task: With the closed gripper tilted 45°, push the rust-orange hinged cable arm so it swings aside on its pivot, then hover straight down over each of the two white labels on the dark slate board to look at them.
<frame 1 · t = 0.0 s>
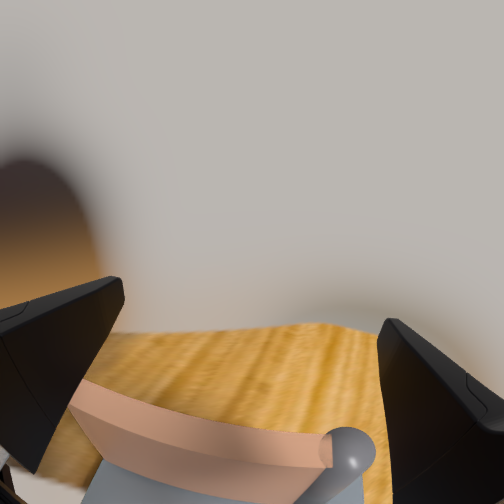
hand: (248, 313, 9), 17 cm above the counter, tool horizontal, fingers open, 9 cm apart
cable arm: (212, 466, 12), point 6 cm above the counter, hinge at 0.0°
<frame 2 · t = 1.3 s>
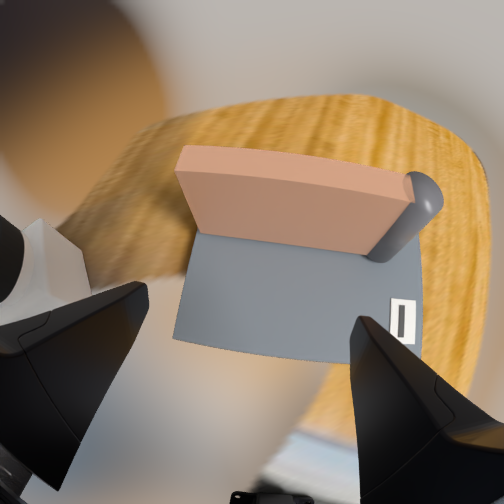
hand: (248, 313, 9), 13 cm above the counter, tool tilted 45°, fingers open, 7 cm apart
medicine bottle: (64, 296, 22), on the counter
label board: (312, 266, 22), on the counter
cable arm: (310, 208, 18), point 6 cm above the counter, hinge at 0.0°
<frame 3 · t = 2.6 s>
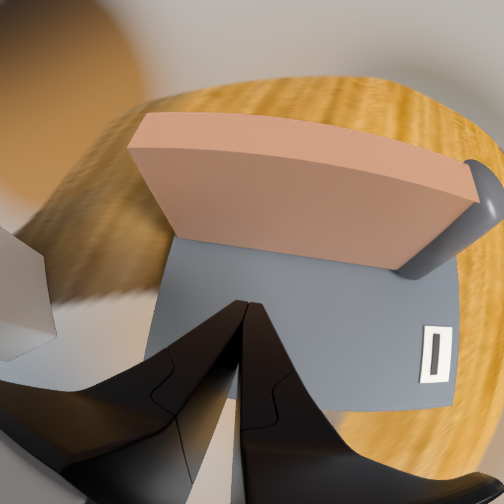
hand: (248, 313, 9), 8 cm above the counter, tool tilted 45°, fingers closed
medicine bottle: (24, 310, 17), on the counter
label board: (326, 284, 17), on the counter
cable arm: (328, 206, 12), point 6 cm above the counter, hinge at 0.0°
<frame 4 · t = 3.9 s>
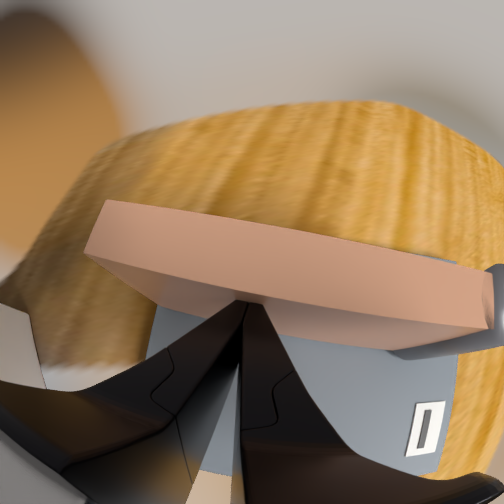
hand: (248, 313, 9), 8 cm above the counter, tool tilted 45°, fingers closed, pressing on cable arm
medicine bottle: (16, 366, 15), on the counter
label board: (317, 364, 15), on the counter
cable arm: (321, 305, 11), point 5 cm above the counter, hinge at 2.7°, touching gripper
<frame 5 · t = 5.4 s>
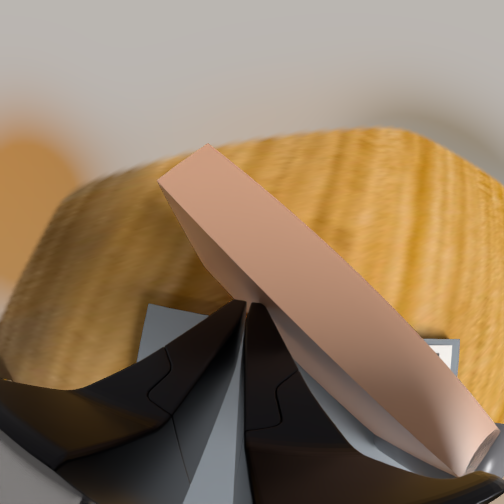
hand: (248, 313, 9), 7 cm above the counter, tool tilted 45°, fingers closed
label board: (297, 455, 13), on the counter
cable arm: (344, 360, 10), point 6 cm above the counter, hinge at 37.7°, touching gripper
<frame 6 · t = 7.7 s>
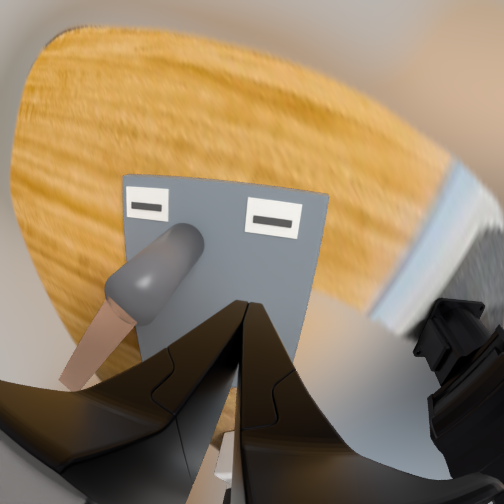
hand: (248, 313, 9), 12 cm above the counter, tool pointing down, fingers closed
medicine bottle: (260, 438, 31), on the counter
label board: (213, 298, 23), on the counter
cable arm: (118, 320, 18), point 6 cm above the counter, hinge at 37.8°
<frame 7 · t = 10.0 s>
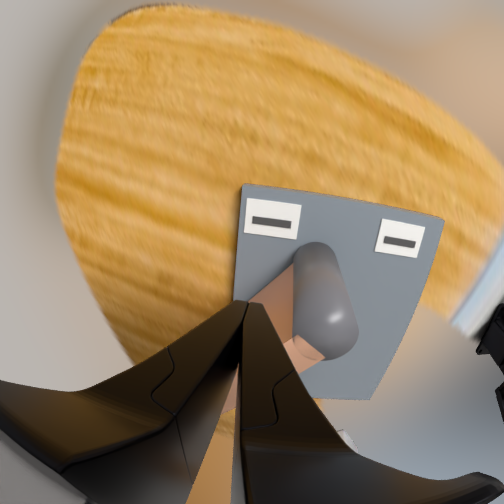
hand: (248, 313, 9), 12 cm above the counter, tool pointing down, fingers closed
label board: (324, 315, 22), on the counter
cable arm: (242, 349, 18), point 6 cm above the counter, hinge at 37.8°
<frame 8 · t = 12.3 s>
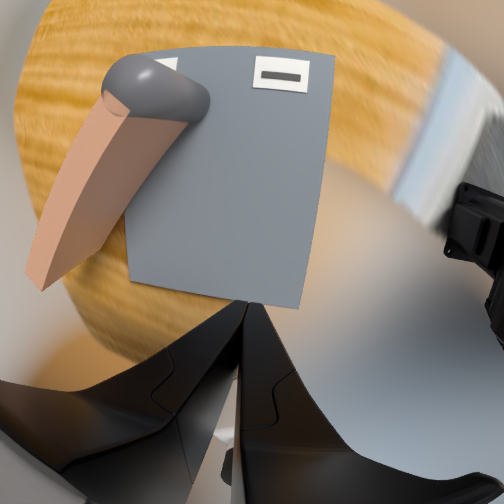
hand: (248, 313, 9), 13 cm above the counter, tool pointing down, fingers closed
medicine bottle: (267, 391, 28), on the counter
label board: (216, 174, 20), on the counter
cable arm: (105, 180, 15), point 5 cm above the counter, hinge at 37.8°
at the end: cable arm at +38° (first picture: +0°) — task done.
